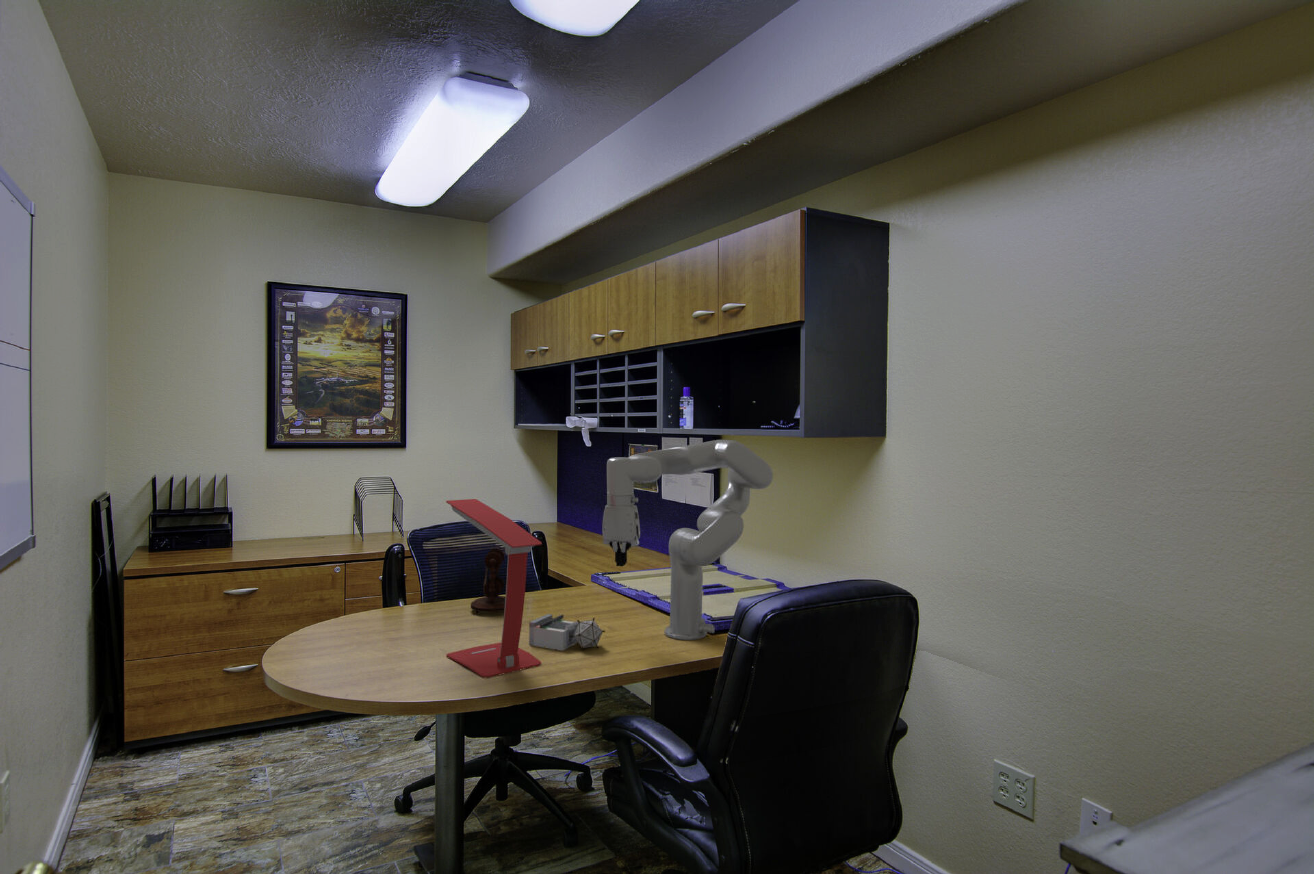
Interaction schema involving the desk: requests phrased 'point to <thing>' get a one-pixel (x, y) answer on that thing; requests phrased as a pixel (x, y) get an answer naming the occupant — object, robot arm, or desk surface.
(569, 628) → the grey channel block
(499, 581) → the brown jointed stand
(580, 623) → the game die
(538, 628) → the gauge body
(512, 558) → the desk lamp
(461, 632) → the desk surface
